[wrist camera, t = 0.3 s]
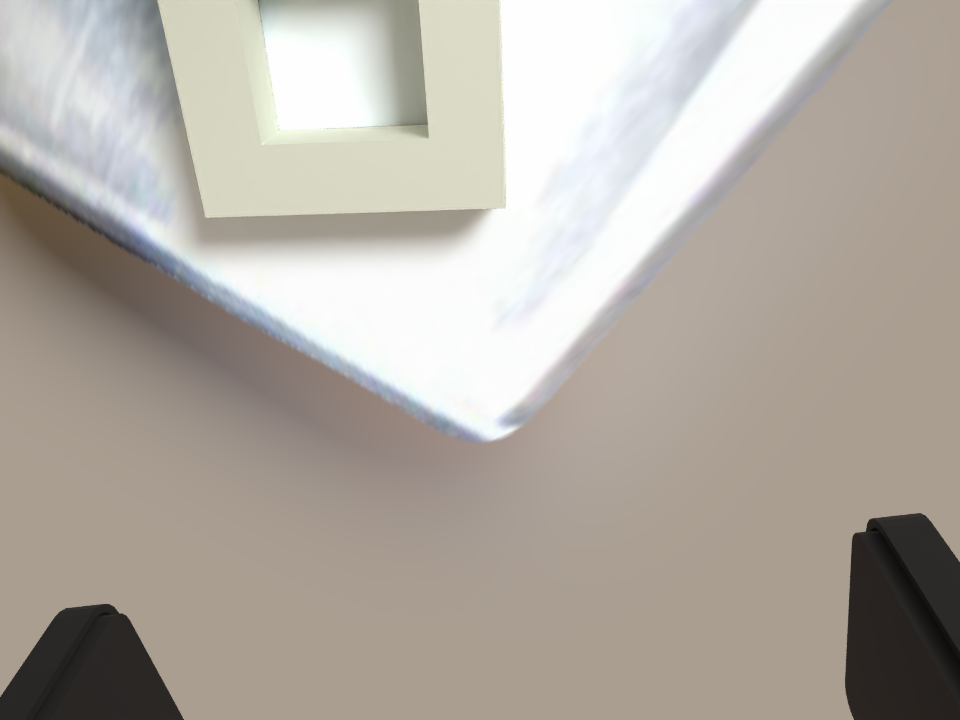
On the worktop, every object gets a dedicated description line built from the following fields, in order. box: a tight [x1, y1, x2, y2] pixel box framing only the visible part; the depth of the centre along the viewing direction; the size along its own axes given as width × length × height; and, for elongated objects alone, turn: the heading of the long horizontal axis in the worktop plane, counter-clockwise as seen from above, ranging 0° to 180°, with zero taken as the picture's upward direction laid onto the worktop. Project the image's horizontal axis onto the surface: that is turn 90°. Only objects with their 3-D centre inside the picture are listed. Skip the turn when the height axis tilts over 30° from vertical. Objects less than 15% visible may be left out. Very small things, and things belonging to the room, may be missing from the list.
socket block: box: [157, 0, 506, 218], centre depth 34 cm, size 14×14×3 cm
